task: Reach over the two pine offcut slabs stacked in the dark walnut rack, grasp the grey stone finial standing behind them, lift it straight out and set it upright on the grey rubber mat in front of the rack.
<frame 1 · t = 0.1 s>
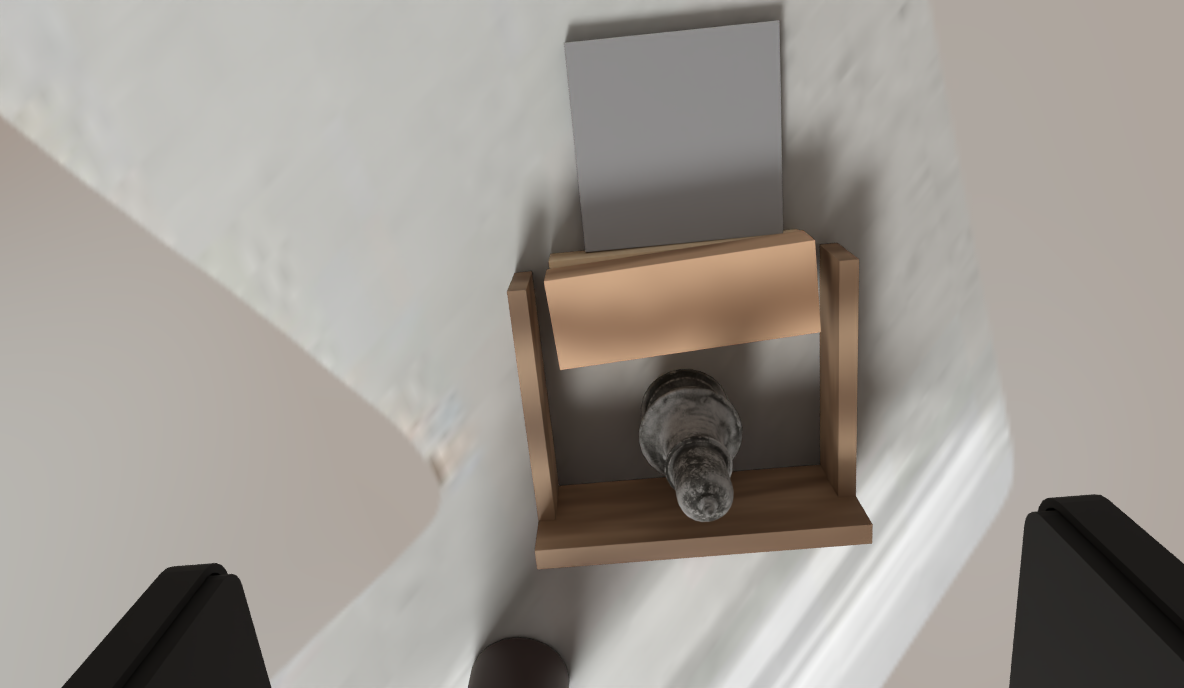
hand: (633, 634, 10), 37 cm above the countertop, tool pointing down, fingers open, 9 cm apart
rack: (684, 409, 49), on the countertop
upper offcut: (679, 293, 44), point 2 cm above the countertop, touching lower offcut
grey stone finial: (684, 408, 49), on the countertop
mat: (676, 140, 43), on the countertop
lower offcut: (675, 281, 46), on the countertop, touching upper offcut
bottle: (520, 672, 56), on the countertop
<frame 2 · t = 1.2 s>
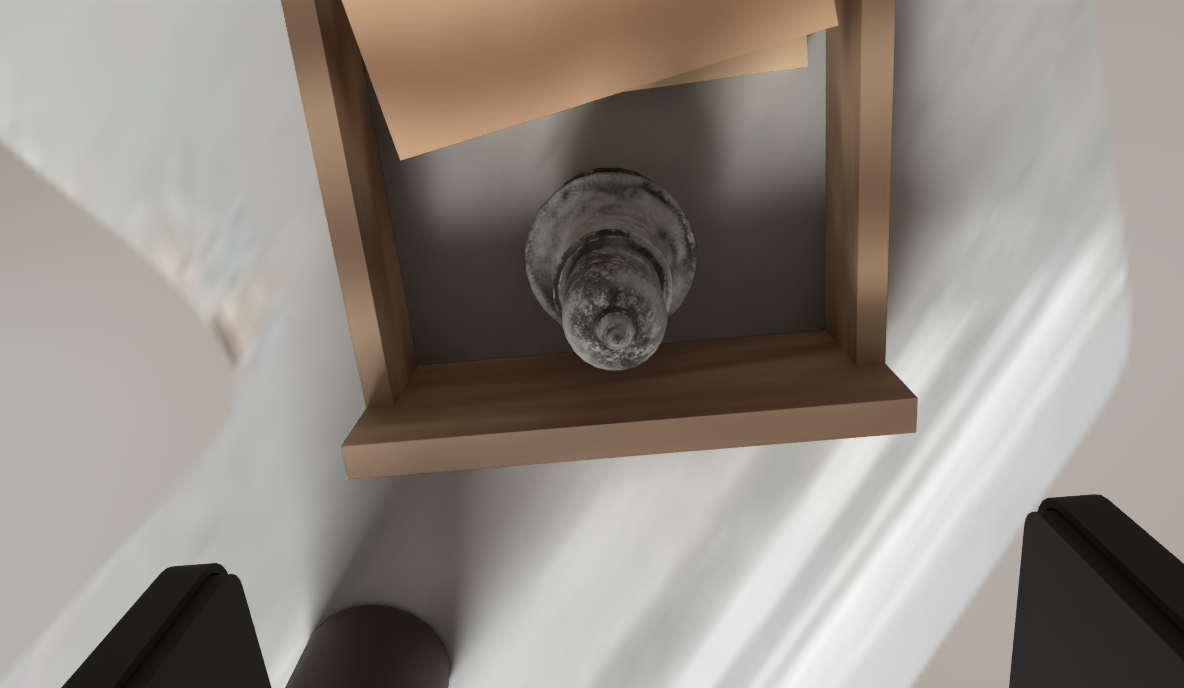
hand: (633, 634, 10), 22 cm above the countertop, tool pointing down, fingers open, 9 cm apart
rack: (609, 237, 30), on the countertop
upper offcut: (590, 15, 26), point 2 cm above the countertop, touching lower offcut
grey stone finial: (609, 236, 31), on the countertop
lower offcut: (590, 19, 28), on the countertop, touching upper offcut
bottle: (380, 658, 37), on the countertop
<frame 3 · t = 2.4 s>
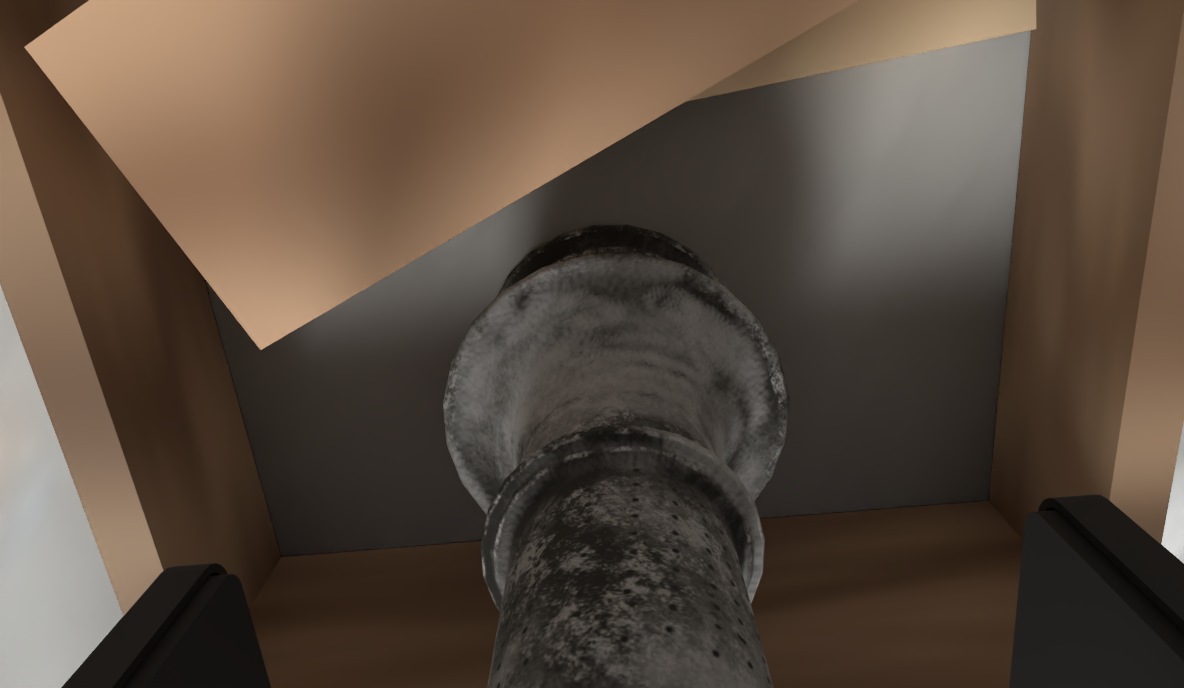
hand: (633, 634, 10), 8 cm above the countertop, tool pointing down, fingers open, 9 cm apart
rack: (611, 348, 17), on the countertop
grey stone finial: (611, 344, 17), on the countertop
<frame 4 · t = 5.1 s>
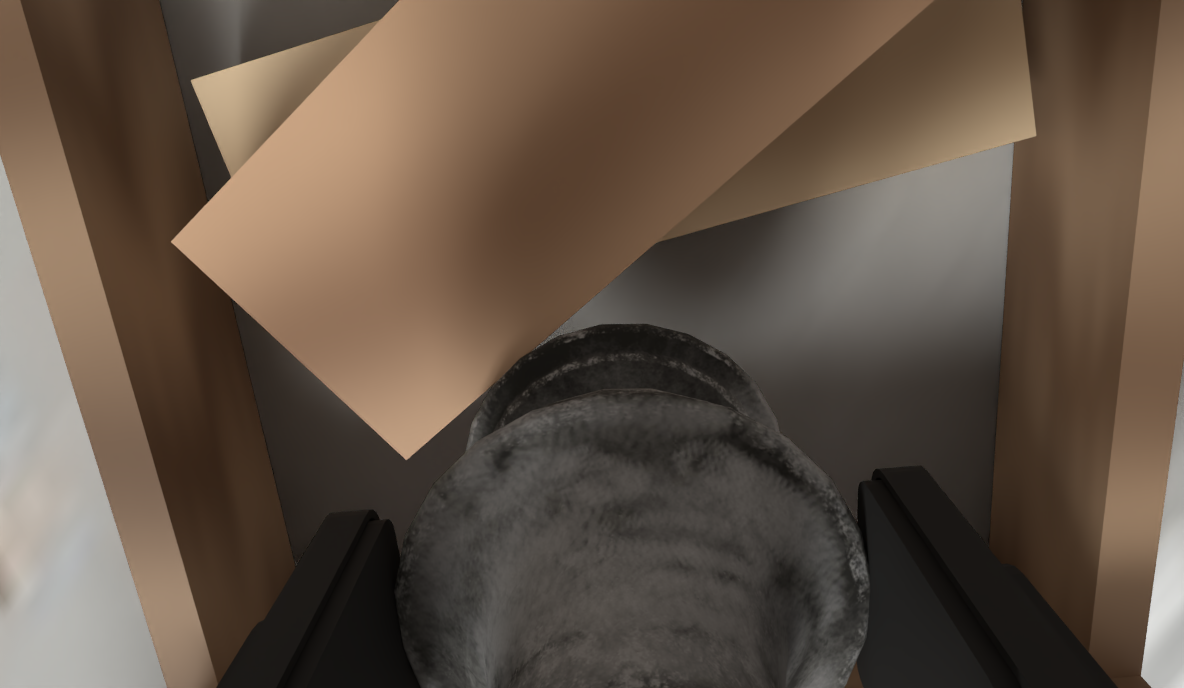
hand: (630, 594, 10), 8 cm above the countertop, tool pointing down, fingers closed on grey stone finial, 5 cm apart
rack: (625, 412, 18), on the countertop
upper offcut: (616, 49, 14), point 2 cm above the countertop, touching lower offcut
grey stone finial: (623, 469, 13), point 4 cm above the countertop, touching gripper
lower offcut: (613, 104, 16), on the countertop, touching upper offcut
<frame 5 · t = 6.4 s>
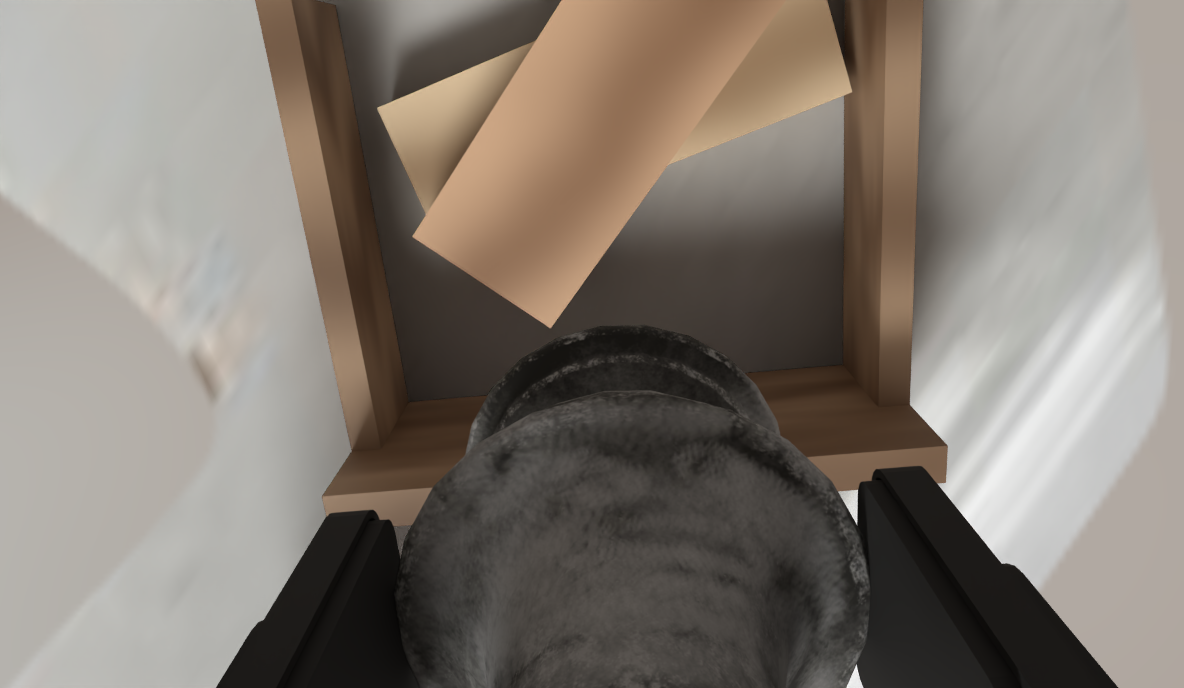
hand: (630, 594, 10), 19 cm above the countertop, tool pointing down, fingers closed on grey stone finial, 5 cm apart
rack: (612, 267, 29), on the countertop
upper offcut: (614, 84, 25), point 2 cm above the countertop, touching lower offcut
grey stone finial: (623, 470, 13), point 16 cm above the countertop, touching gripper
lower offcut: (612, 97, 27), on the countertop, touching upper offcut
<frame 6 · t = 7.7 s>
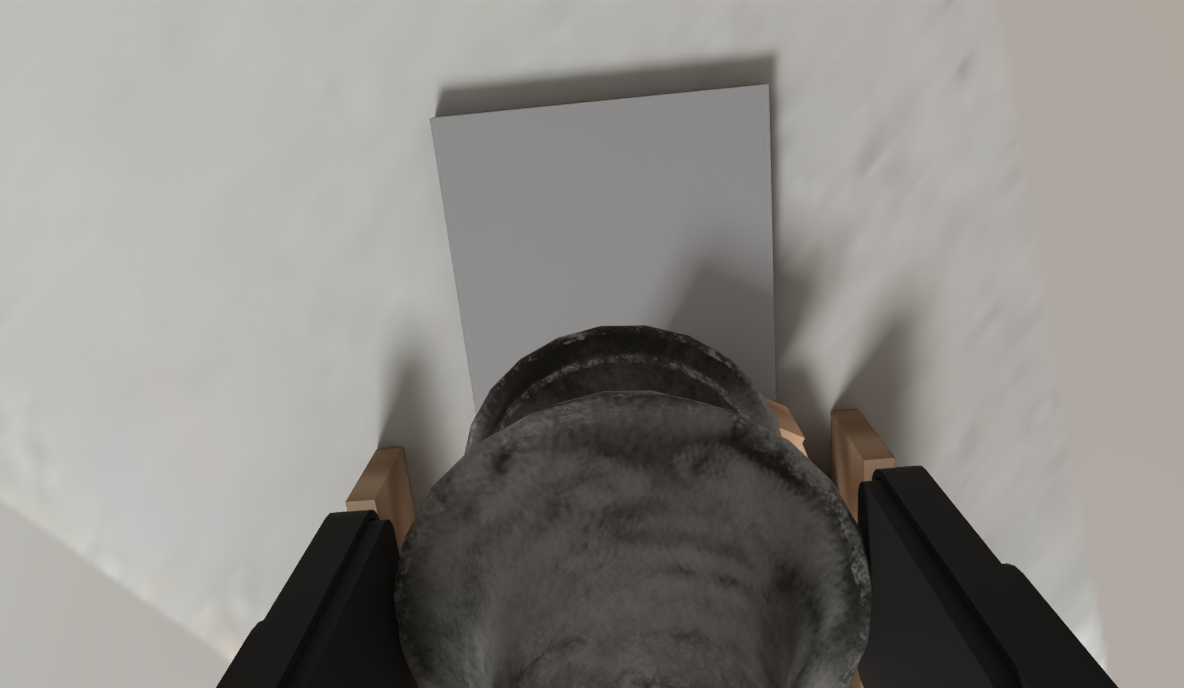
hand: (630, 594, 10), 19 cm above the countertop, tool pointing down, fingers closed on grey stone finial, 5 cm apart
rack: (634, 634, 33), on the countertop
upper offcut: (639, 538, 30), point 2 cm above the countertop, touching lower offcut
grey stone finial: (623, 471, 13), point 16 cm above the countertop, touching gripper
mat: (612, 261, 28), on the countertop
when the fingers open (5 cm above the countertop, at t = 11.0 s): grey stone finial drops 1 cm, resting on mat.
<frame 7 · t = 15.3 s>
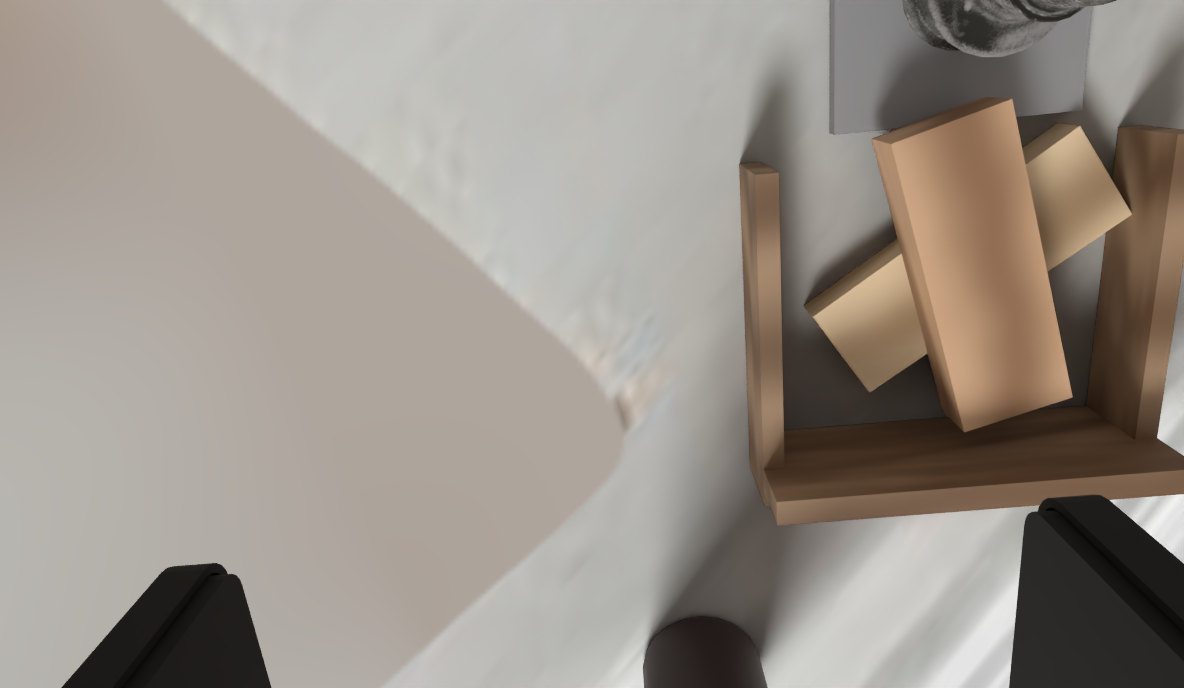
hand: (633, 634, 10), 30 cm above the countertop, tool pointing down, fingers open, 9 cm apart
rack: (929, 337, 40), on the countertop
upper offcut: (961, 263, 37), point 2 cm above the countertop, touching lower offcut
lower offcut: (946, 254, 39), on the countertop, touching upper offcut
bottle: (699, 658, 47), on the countertop
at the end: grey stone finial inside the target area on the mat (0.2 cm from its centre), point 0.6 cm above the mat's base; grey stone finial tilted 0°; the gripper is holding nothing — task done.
